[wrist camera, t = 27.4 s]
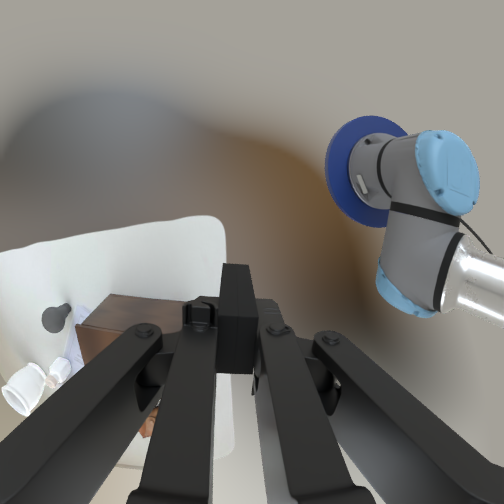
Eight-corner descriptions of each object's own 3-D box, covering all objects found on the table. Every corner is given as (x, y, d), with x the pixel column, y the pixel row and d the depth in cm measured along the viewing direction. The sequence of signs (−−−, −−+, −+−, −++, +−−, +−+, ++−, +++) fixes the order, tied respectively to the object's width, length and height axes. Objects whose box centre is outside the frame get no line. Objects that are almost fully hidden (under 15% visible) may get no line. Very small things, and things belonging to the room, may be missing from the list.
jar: (20, 357, 54) (-5, 384, 40) (41, 360, 55) (15, 390, 40) (34, 384, 57) (13, 412, 43) (56, 388, 58) (35, 420, 43)
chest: (117, 346, 55) (95, 383, 41) (110, 293, 51) (81, 323, 38) (192, 356, 56) (184, 398, 43) (191, 301, 53) (180, 338, 40)
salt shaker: (69, 359, 55) (54, 380, 46) (72, 370, 56) (57, 391, 47) (58, 355, 55) (41, 375, 45) (61, 366, 56) (45, 386, 46)
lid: (91, 382, 41) (90, 385, 40) (76, 323, 38) (74, 325, 37) (184, 398, 43) (183, 401, 42) (180, 338, 40) (179, 341, 39)
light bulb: (79, 302, 51) (58, 322, 42) (76, 321, 53) (55, 342, 43) (61, 291, 51) (37, 308, 41) (58, 309, 52) (36, 329, 42)
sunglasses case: (170, 398, 58) (175, 422, 54) (187, 403, 63) (193, 425, 59) (125, 416, 60) (129, 437, 55) (143, 420, 65) (147, 440, 60)
